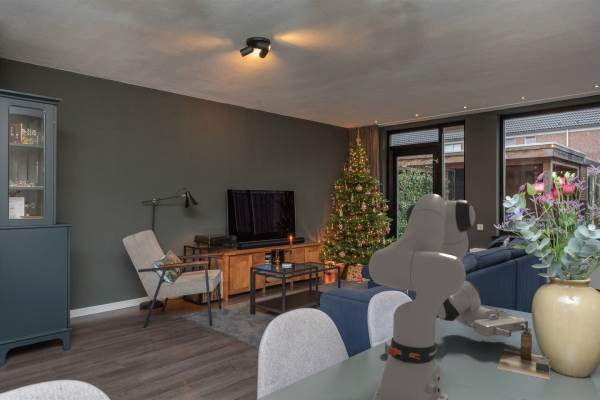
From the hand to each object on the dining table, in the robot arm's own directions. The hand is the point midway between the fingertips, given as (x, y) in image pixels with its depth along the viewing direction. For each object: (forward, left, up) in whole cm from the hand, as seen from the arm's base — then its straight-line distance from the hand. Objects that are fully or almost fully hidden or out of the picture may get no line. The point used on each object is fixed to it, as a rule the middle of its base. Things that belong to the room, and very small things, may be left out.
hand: (519, 332), depth 142 cm
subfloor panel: (-7, -2, -8) cm, 11 cm away
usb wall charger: (-21, +35, -9) cm, 42 cm away
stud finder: (-8, -7, -7) cm, 13 cm away
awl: (-2, -2, -7) cm, 8 cm away
